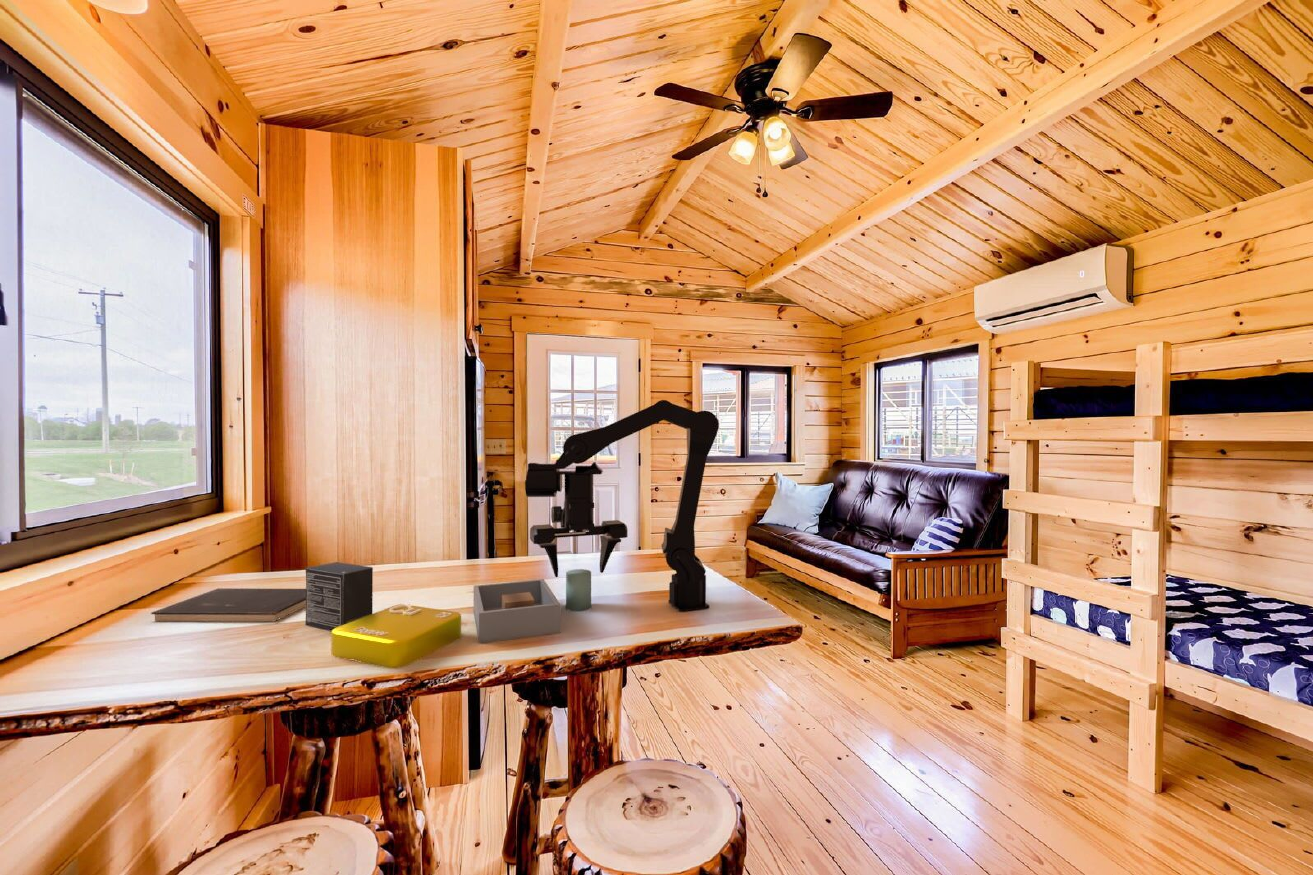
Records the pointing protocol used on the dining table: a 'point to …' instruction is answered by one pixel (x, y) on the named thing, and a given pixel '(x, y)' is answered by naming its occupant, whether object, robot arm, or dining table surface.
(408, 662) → the element tile
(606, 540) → the robot arm
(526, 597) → the walnut cube
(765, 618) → the dining table surface
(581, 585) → the teal cylinder
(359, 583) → the small box
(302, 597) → the hardcover book
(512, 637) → the tote
